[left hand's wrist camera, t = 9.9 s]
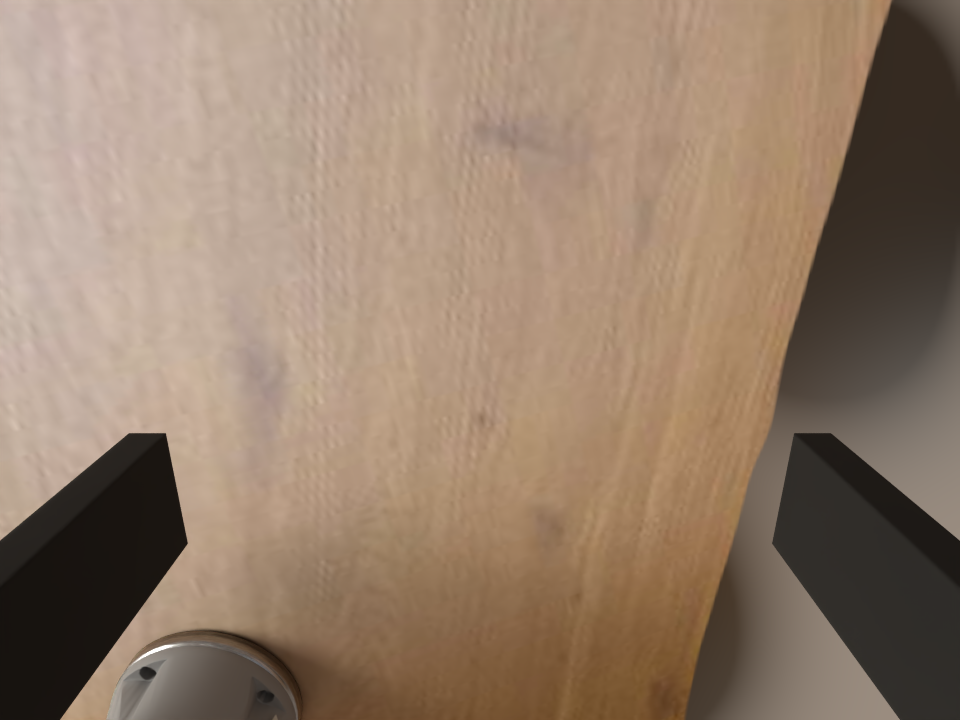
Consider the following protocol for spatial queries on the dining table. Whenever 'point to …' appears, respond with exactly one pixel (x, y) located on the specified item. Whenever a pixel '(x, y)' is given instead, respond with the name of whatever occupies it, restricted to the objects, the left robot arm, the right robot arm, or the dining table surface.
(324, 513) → the dining table surface
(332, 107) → the dining table surface
